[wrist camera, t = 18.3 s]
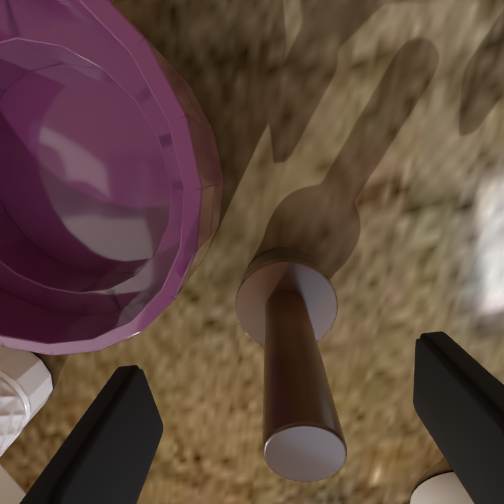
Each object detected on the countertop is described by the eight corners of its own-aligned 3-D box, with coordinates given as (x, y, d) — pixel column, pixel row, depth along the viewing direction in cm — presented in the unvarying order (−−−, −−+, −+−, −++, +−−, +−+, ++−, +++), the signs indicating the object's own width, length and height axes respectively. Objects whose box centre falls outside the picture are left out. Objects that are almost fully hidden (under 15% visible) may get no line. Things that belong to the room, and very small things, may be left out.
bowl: (32, 309, 18) (-63, 367, 13) (-91, 56, 13) (-321, -16, 8) (245, 283, 16) (234, 337, 11) (188, -16, 12) (125, -164, 7)
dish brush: (248, 324, 17) (224, 521, 8) (233, 250, 16) (180, 383, 6) (328, 316, 17) (410, 517, 7) (321, 238, 15) (417, 362, 5)
